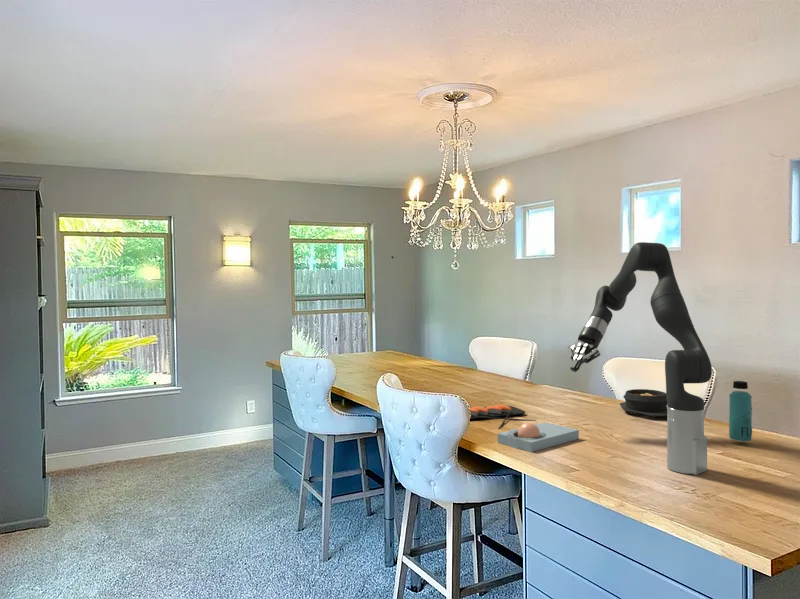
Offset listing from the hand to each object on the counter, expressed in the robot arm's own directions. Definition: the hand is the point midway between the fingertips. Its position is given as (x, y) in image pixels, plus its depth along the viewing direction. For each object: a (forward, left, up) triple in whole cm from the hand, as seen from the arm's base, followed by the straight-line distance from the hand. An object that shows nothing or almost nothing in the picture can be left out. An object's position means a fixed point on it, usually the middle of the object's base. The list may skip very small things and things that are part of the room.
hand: (573, 370), depth 205 cm
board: (+1, +18, -22) cm, 28 cm away
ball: (0, +24, -18) cm, 30 cm away
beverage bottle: (-42, -29, -22) cm, 56 cm away
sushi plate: (+31, +6, -23) cm, 39 cm away
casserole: (0, -46, -22) cm, 51 cm away
